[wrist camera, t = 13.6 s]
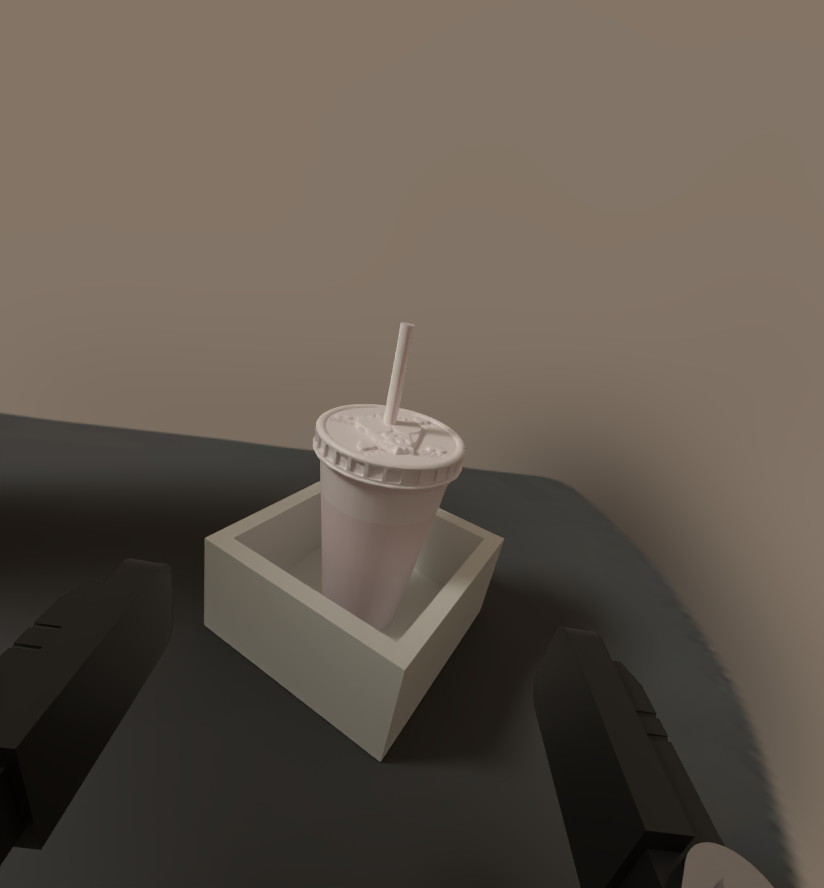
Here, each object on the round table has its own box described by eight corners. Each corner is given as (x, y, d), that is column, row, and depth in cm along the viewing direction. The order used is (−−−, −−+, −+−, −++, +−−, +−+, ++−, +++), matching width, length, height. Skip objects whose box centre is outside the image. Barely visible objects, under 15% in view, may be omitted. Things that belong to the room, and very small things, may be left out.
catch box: (204, 624, 21) (204, 537, 19) (340, 533, 29) (350, 465, 27) (380, 762, 17) (404, 670, 15) (480, 610, 25) (504, 538, 23)
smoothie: (401, 560, 27) (456, 321, 21) (439, 650, 21) (526, 360, 16) (290, 565, 24) (317, 300, 19) (299, 668, 19) (342, 336, 13)
